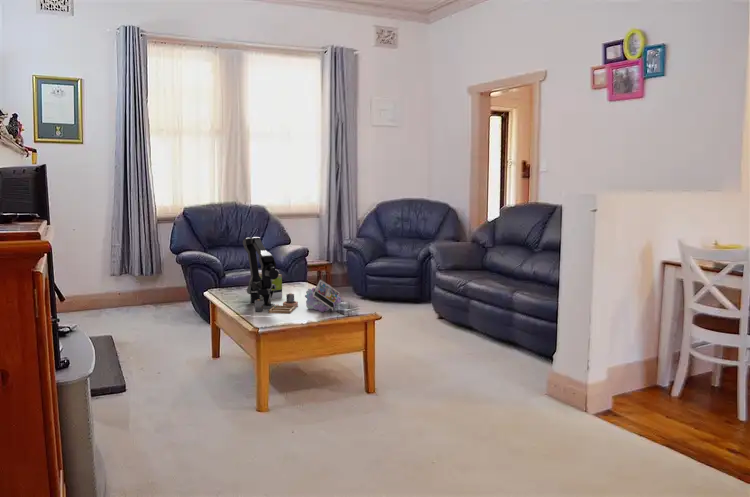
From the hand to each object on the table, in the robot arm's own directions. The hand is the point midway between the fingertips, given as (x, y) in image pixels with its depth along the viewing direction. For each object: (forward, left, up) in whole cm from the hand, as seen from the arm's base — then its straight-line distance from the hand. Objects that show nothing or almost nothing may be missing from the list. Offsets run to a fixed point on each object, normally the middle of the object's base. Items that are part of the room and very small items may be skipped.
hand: (267, 304), depth 363 cm
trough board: (+7, +10, -3) cm, 13 cm away
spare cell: (+11, -2, -3) cm, 11 cm away
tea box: (-36, -8, -3) cm, 37 cm away
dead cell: (-5, +12, -2) cm, 13 cm away
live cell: (0, 0, -2) cm, 2 cm away
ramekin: (-5, +12, -3) cm, 14 cm away
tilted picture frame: (-1, +32, -3) cm, 32 cm away
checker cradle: (0, +1, -3) cm, 3 cm away
